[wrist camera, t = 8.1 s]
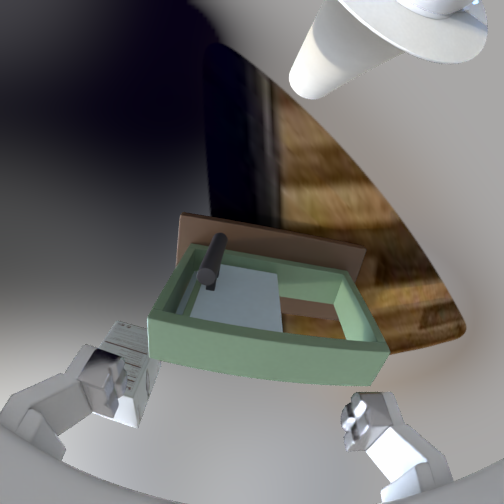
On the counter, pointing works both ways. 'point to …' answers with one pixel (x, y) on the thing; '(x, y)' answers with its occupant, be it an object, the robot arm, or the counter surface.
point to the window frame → (291, 302)
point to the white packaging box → (132, 370)
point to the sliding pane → (234, 293)
